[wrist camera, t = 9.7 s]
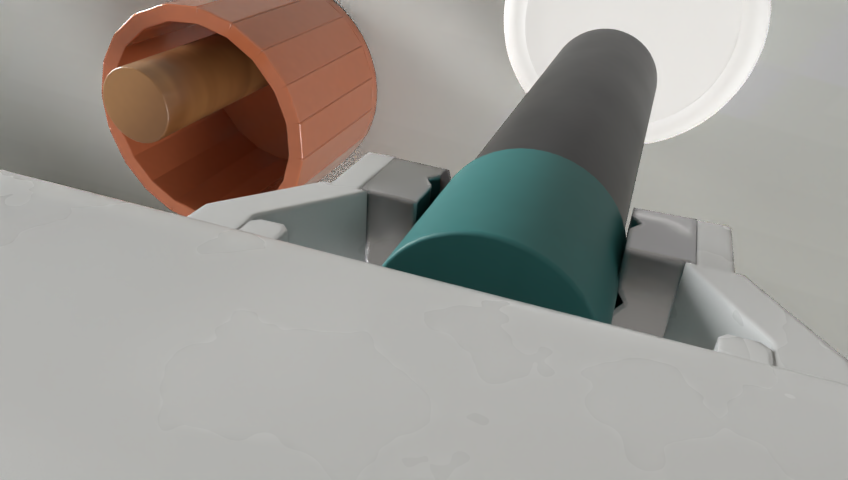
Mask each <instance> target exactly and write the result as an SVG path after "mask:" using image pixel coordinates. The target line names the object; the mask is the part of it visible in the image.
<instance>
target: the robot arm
mask: <svg viewBox="0 0 848 480" xmlns="http://www.w3.org/2000/svg"><path fill="white" fill-rule="evenodd" d="M450 180H451V177H450V172H449V170H447V169H443V168H438V167H434V166H430V165H425V164H421V163H416V162H412V161H407V160H403V159H399V158H396V157H394V156H388V155H382V154H377V153H371V152H368V153H367V154H366V155H364V156H363V157H362V158H361V159H360V160H358V161H357V162H356V163H355V164H354V165H352V166H351V167H350V168H349V169H348V170H346V171H345V172H344V173H343V174H342V175H340V176H339V177H338V178H337V179H336V180H334V181H333V182H332V183H329V182H325V181H323V182H317V183H312V184H307V185H302V186H297V187H291V188H286V189H281V190H276V191H270V192H265V193H260V194H255V195H250V196H244V197H239V198H234V199H229V200H223V201H218V202H213V203H208V204H205V205H204V206H202V207H201V208H199V209H198V210H196V211H195V212H193V213H192V214H190V215H189V216H187V217H186V216H182V215H178V214H174V213H170V212H166V211H162V210H158V209H154V208H151V207H147V206H143V205H139V204H135V203H131V202H127V201H123V200H119V199H115V198H111V197H107V196H103V195H99V194H95V193H92V192H88V191H84V190H80V189H76V188H72V187H68V186H64V185H60V184H56V183H52V182H48V181H44V180H40V179H36V178H33V177H29V176H25V175H21V174H17V173H13V172H9V171H5V170H1V169H0V480H848V360H847V359H846V358H844V357H843V356H842V355H841V354H840V353H838V352H837V351H836V350H835V349H833V348H832V347H831V346H830V345H829V344H827V343H826V342H825V341H824V340H822V339H821V338H820V337H819V336H818V335H816V334H815V333H814V332H813V331H811V330H810V329H809V328H808V327H807V326H805V325H804V324H803V323H802V322H800V321H799V320H798V319H797V318H796V317H794V316H793V315H792V314H791V313H789V312H788V311H787V310H786V309H785V308H783V307H782V306H781V305H780V304H778V303H777V302H776V301H775V300H774V299H772V298H771V297H770V296H769V295H768V294H766V293H765V292H764V291H763V290H761V289H760V288H759V287H758V286H757V285H755V284H754V283H753V282H752V281H750V280H749V279H748V278H747V277H746V276H744V275H740V274H736V273H735V268H734V256H733V243H732V230H731V227H729V226H727V225H721V224H716V223H710V222H704V221H699V220H697V219H693V218H687V217H682V216H677V215H671V214H666V213H660V212H655V211H650V210H644V209H639V208H634V209H633V213H632V217H631V221H630V225H629V229H628V233H627V237H626V242H625V248H624V252H623V256H622V261H621V266H620V271H619V276H618V293H617V298H616V303H615V308H614V313H613V318H612V322H611V324H607V323H603V322H599V321H595V320H591V319H587V318H583V317H579V316H575V315H571V314H567V313H564V312H560V311H556V310H552V309H548V308H544V307H540V306H536V305H532V304H528V303H524V302H520V301H516V300H512V299H508V298H505V297H501V296H497V295H493V294H489V293H485V292H481V291H477V290H473V289H469V288H465V287H461V286H457V285H453V284H449V283H446V282H442V281H438V280H434V279H430V278H426V277H422V276H418V275H414V274H410V273H406V272H402V271H398V270H394V269H390V268H387V267H383V266H382V265H383V263H384V262H385V261H386V260H387V258H388V257H389V256H390V255H391V253H392V252H393V251H394V250H395V248H396V247H397V246H398V245H399V244H400V242H401V241H402V240H403V239H404V237H405V236H406V235H407V234H408V232H409V231H410V230H411V229H412V228H413V226H414V225H415V224H416V223H417V221H418V220H419V219H420V218H421V216H422V215H423V214H424V213H425V211H426V210H427V209H428V208H429V207H430V205H431V204H432V203H433V202H434V200H435V199H436V198H437V197H438V195H439V194H440V193H441V192H442V191H443V189H444V188H445V187H446V186H447V184H448V183H449V182H450Z"/></svg>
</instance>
